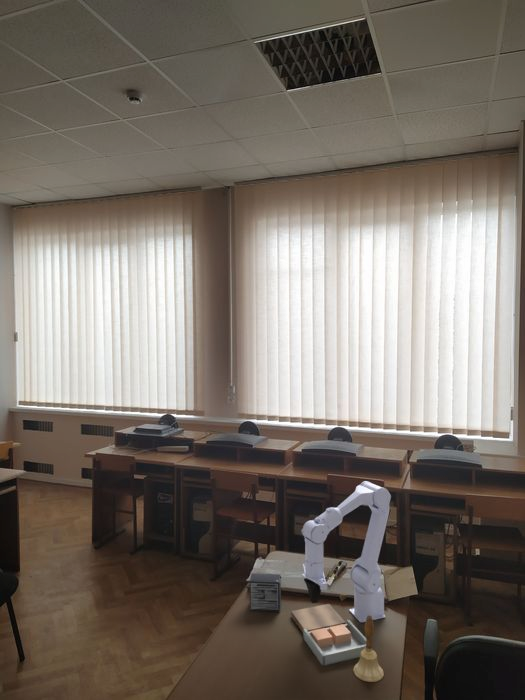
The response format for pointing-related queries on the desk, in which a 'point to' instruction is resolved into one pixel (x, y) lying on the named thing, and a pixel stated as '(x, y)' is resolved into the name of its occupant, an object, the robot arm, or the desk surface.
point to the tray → (338, 647)
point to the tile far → (322, 637)
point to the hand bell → (368, 658)
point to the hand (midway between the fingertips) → (314, 601)
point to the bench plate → (316, 618)
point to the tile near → (340, 634)
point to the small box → (265, 592)
